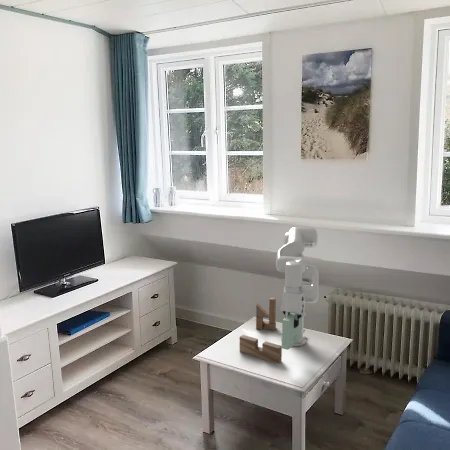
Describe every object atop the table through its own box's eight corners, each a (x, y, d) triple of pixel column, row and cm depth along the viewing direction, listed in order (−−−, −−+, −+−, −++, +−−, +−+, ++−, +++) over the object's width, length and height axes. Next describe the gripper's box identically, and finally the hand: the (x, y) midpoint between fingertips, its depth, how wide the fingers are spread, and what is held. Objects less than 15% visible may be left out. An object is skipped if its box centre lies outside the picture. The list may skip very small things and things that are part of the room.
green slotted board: (295, 336, 228) (296, 309, 224) (301, 338, 226) (302, 310, 223) (281, 348, 216) (282, 319, 213) (287, 349, 215) (288, 321, 212)
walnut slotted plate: (242, 349, 240) (242, 334, 238) (281, 361, 227) (281, 345, 226) (239, 351, 237) (239, 336, 236) (278, 363, 225) (278, 348, 223)
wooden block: (256, 326, 267) (256, 296, 263) (275, 327, 265) (276, 297, 261) (256, 329, 263) (256, 298, 260) (275, 330, 262) (276, 299, 258)
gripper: (313, 289, 213) (312, 327, 218) (281, 282, 223) (280, 319, 227) (306, 294, 207) (305, 333, 212) (273, 287, 217) (272, 324, 221)
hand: (292, 325), depth 219 cm, fingers closed on green slotted board, 3 cm apart
